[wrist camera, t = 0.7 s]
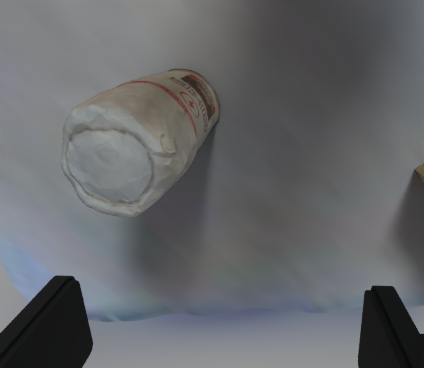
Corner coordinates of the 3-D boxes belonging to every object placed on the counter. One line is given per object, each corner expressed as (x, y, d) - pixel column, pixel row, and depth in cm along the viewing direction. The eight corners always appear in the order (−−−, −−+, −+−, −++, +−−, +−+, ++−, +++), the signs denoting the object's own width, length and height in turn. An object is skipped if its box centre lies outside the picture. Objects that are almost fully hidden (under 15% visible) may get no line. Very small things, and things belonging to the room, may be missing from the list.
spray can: (226, 141, 39) (191, 221, 20) (156, 151, 40) (62, 234, 22) (213, 61, 36) (158, 67, 17) (138, 76, 37) (13, 96, 19)
